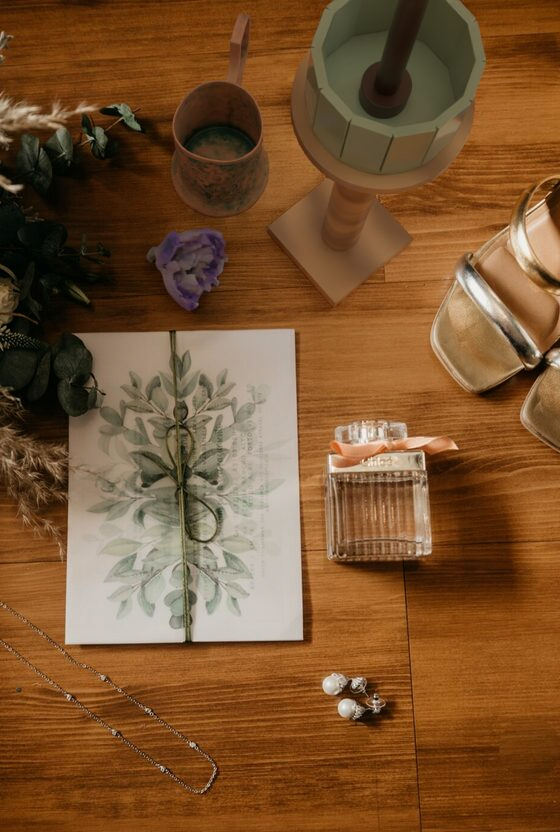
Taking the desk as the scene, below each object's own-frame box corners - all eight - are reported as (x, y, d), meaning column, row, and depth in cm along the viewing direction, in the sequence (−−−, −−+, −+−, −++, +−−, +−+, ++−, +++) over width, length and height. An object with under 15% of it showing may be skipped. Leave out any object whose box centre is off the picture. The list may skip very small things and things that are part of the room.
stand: (345, 152, 85) (391, -20, 59) (428, 245, 84) (513, 111, 58) (248, 230, 84) (253, 90, 58) (332, 325, 83) (374, 225, 57)
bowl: (390, -1, 59) (406, -58, 54) (492, 109, 58) (519, 63, 53) (274, 92, 58) (277, 44, 53) (375, 205, 58) (390, 169, 52)
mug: (291, 90, 86) (299, 16, 74) (255, 227, 84) (258, 174, 72) (198, 68, 86) (191, -9, 74) (160, 204, 85) (147, 147, 73)
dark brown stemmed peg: (385, 62, 58) (423, -63, 46) (418, 98, 58) (464, -19, 46) (348, 92, 58) (376, -26, 46) (380, 128, 58) (418, 19, 46)
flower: (108, 265, 77) (188, 258, 73) (137, 213, 81) (215, 204, 77) (145, 327, 84) (221, 324, 80) (170, 277, 88) (243, 271, 84)
